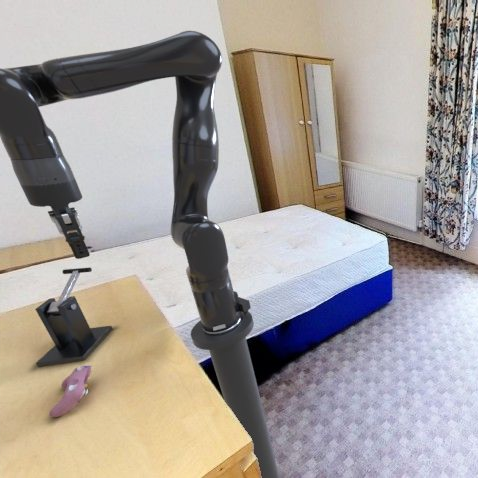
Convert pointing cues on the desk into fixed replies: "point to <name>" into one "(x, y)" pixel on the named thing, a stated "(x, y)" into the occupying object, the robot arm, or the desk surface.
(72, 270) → the lever
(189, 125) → the robot arm
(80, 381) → the pink curved piece
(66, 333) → the bracket
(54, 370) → the desk surface
